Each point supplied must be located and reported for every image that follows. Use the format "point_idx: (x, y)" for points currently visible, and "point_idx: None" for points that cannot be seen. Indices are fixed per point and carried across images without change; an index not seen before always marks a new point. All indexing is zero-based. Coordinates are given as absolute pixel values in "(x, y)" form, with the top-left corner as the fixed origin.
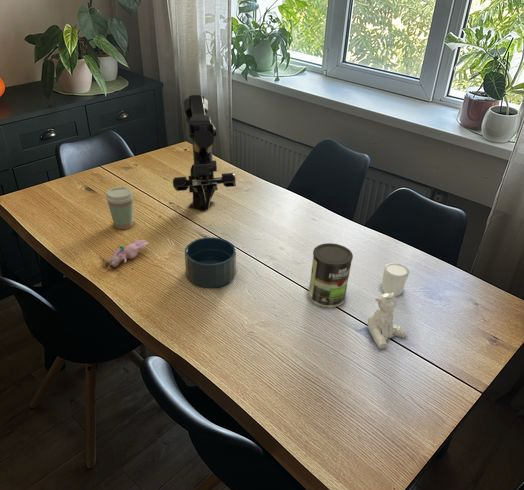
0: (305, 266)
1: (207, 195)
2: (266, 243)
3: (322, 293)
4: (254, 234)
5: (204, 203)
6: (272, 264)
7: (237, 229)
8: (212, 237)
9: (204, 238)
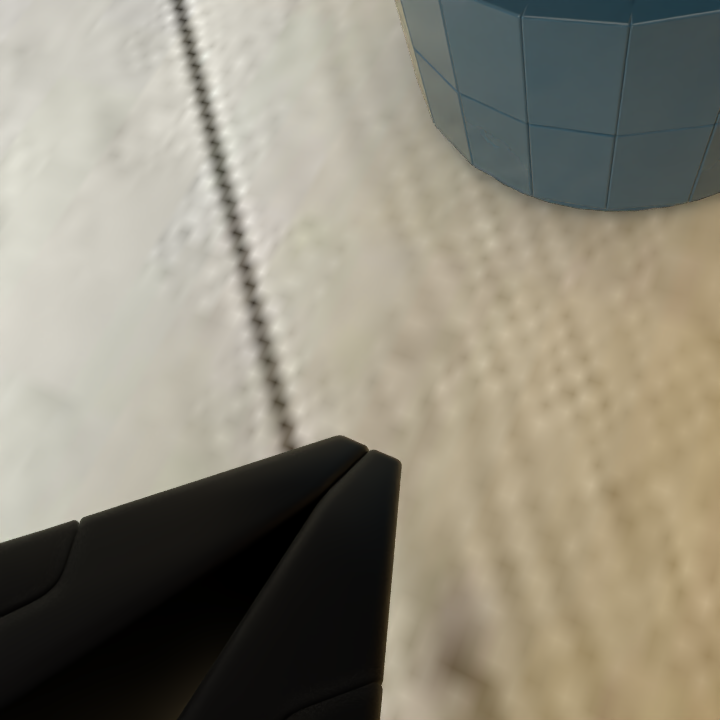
0: (11, 19)
1: (77, 607)
2: (33, 319)
3: None
4: (24, 486)
5: (359, 525)
6: (154, 68)
7: None
8: (532, 14)
9: (655, 3)
